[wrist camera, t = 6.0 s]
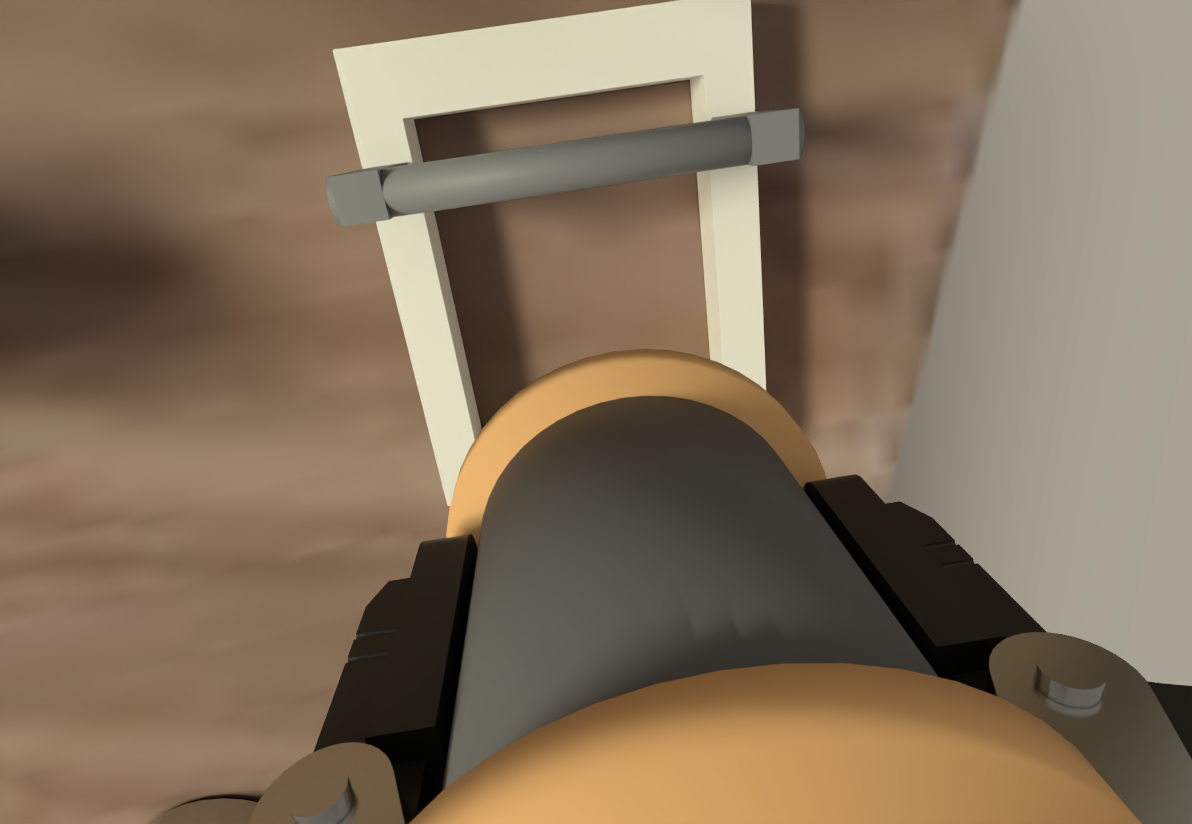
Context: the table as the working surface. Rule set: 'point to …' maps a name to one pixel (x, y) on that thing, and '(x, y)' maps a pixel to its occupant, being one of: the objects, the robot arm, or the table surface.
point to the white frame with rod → (558, 165)
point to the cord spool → (703, 632)
